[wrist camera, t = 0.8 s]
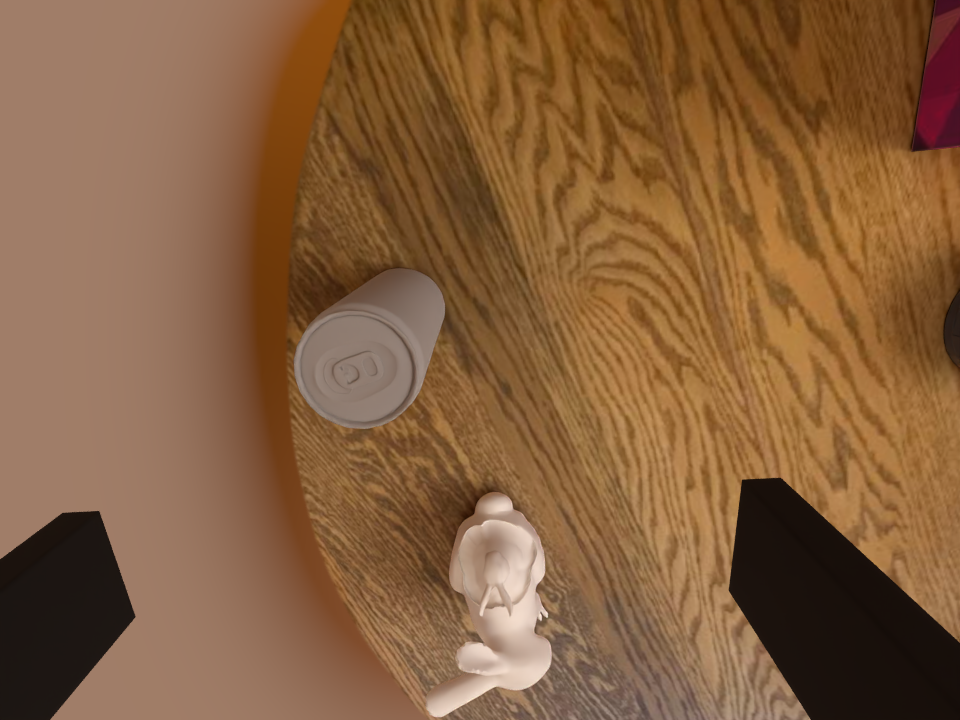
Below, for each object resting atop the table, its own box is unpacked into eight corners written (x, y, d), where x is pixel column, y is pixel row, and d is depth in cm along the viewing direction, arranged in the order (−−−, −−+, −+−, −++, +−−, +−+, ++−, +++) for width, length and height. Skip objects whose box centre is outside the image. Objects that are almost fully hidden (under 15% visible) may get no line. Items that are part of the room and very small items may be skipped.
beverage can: (351, 281, 29) (265, 332, 17) (428, 253, 28) (391, 286, 17) (383, 356, 30) (323, 448, 19) (457, 330, 30) (442, 409, 18)
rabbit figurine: (548, 618, 36) (571, 760, 27) (446, 628, 37) (435, 771, 27) (534, 475, 33) (554, 582, 23) (421, 487, 33) (398, 597, 24)
